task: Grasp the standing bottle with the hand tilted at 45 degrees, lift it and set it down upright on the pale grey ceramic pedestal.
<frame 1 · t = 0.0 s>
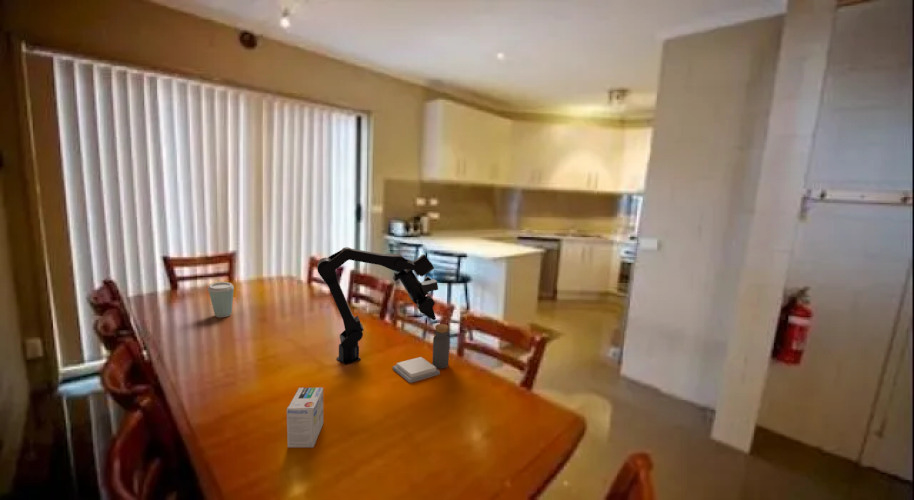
hand: (431, 315, 162), 15 cm above the table, tool tilted 35°, fingers open, 9 cm apart
disposable coffee cup: (222, 315, 195), on the table
bottle: (440, 365, 153), on the table
pedestal: (416, 371, 147), on the table
light bulb box: (306, 435, 109), on the table
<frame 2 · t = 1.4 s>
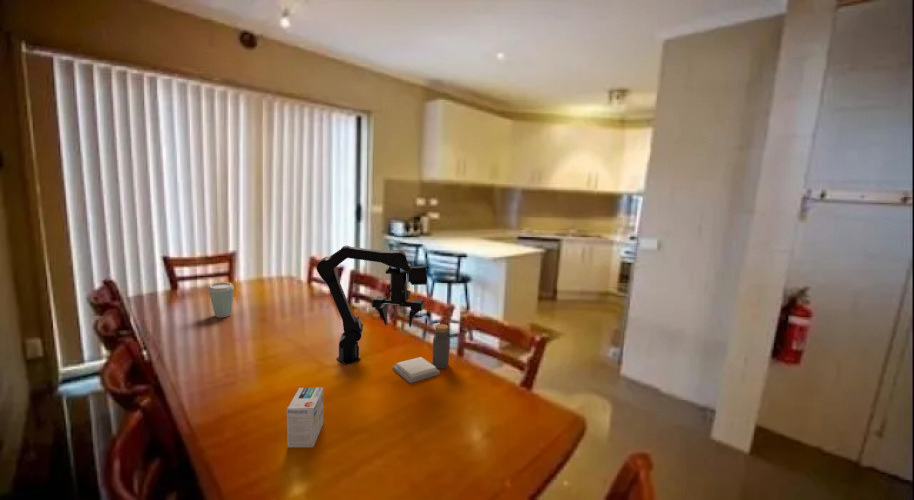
hand: (398, 325, 155), 13 cm above the table, tool pointing down, fingers open, 9 cm apart
nothing on the table moved.
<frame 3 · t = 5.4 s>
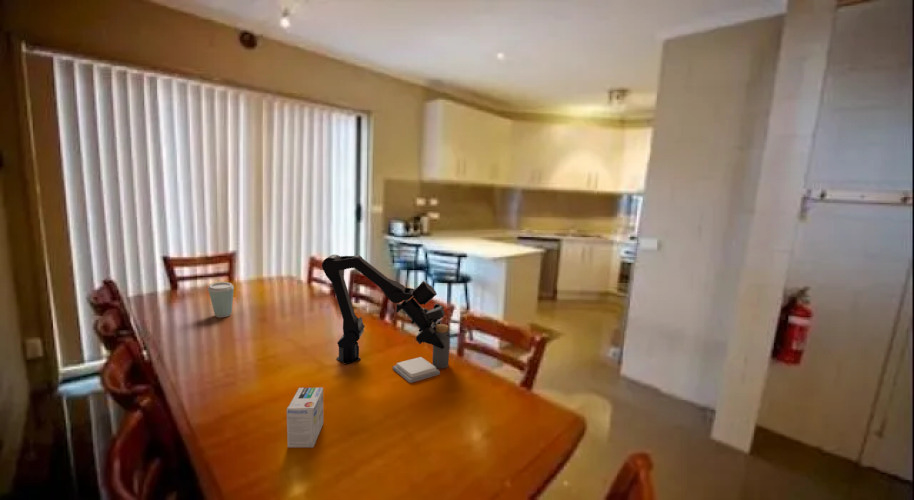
hand: (444, 344, 151), 8 cm above the table, tool tilted 45°, fingers closed on bottle, 6 cm apart
bottle: (440, 365, 153), on the table, touching gripper
everything else where it was.
when the fingers open (11 cm above the table, at t = 8.2 s): bottle stays where it is, resting on pedestal.
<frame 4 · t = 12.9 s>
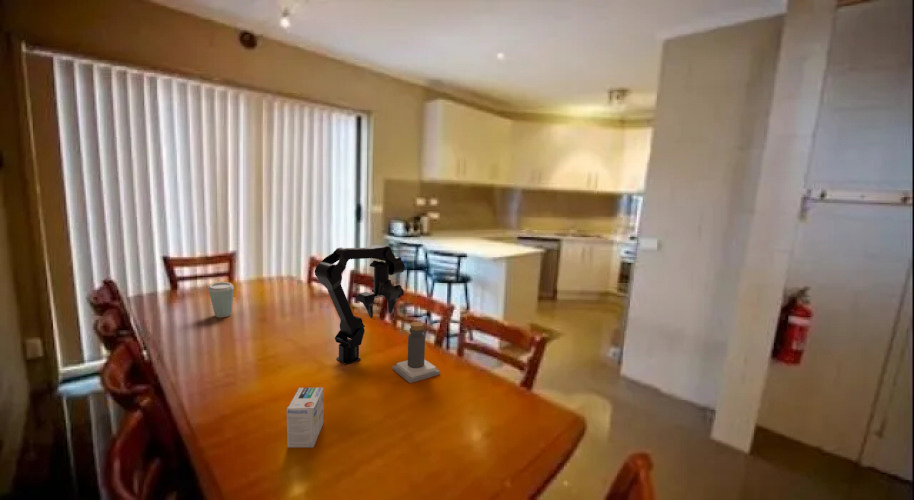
hand: (380, 315, 165), 13 cm above the table, tool pointing down, fingers open, 9 cm apart
bottle: (415, 365, 147), point 2 cm above the table, touching pedestal
everything else where it was.
at the end: bottle inside the target area on the pedestal (0.4 cm from its centre), point 2.3 cm above the pedestal's base; bottle tilted 0°; the gripper is holding nothing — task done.
